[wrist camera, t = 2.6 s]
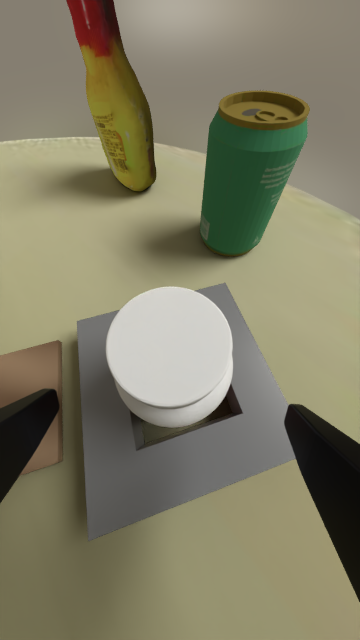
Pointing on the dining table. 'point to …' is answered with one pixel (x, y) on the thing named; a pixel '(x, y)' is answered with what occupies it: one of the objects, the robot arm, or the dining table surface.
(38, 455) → the pad
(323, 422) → the robot arm
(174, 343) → the pill bottle
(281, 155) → the beverage can
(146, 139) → the bottle
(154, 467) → the holder
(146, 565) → the dining table surface
